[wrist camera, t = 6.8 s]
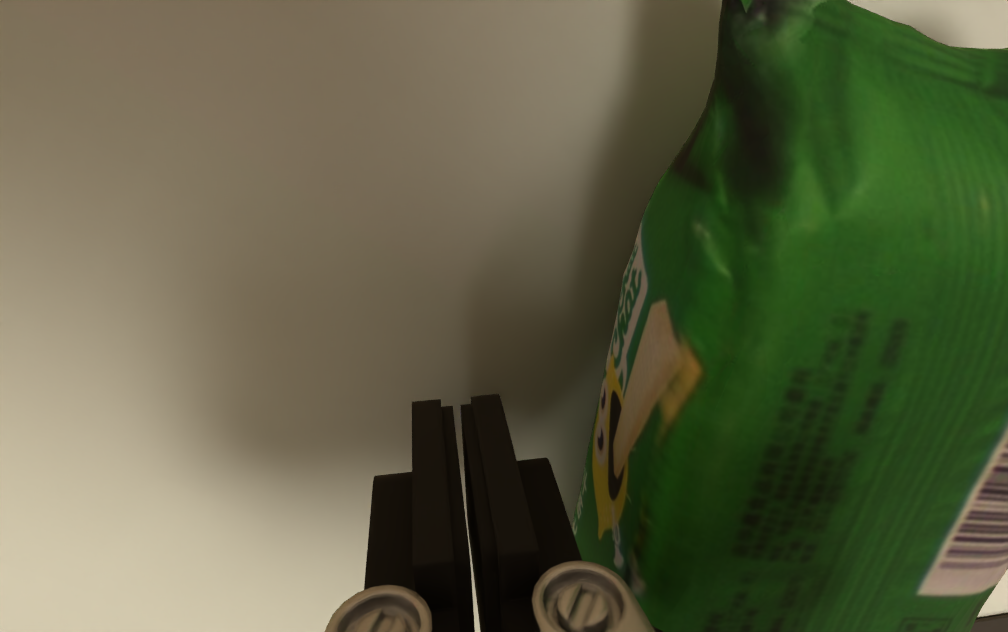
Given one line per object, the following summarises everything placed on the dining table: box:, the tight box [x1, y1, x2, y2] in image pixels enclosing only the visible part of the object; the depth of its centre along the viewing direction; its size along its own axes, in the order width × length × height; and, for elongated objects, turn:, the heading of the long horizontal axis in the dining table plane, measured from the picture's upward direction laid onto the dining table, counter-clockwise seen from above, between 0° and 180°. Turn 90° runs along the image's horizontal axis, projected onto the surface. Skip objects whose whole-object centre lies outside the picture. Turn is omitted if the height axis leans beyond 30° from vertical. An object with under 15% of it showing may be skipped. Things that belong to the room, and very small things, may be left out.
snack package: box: [572, 0, 1008, 632], centre depth 11 cm, size 7×16×5 cm, turn 173°
